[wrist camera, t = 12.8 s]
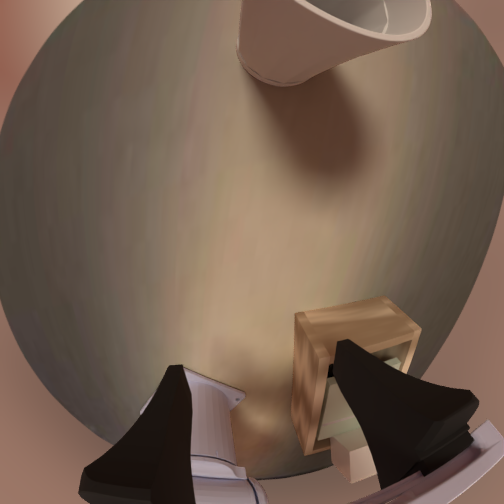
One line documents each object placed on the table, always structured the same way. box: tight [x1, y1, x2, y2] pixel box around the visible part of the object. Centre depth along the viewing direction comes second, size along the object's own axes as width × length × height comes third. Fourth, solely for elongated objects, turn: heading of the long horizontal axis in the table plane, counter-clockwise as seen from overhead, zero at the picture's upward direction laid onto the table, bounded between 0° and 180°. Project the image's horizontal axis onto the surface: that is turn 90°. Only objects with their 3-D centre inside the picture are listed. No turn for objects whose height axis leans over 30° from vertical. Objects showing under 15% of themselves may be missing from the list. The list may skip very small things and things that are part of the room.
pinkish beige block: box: [330, 427, 377, 484], centre depth 20 cm, size 4×4×6 cm
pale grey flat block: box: [316, 357, 401, 441], centre depth 22 cm, size 9×7×4 cm
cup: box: [236, 0, 432, 87], centre depth 10 cm, size 8×8×12 cm
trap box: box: [291, 296, 421, 456], centre depth 23 cm, size 15×9×6 cm, turn 4°
